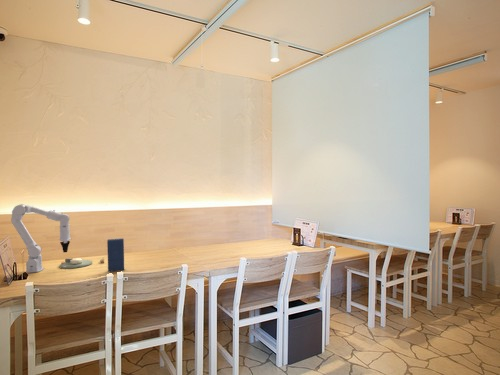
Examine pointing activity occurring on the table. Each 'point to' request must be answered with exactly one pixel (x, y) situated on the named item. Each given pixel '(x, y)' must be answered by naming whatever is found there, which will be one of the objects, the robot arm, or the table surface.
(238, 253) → the table surface
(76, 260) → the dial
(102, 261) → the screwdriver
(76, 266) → the dial board
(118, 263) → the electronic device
